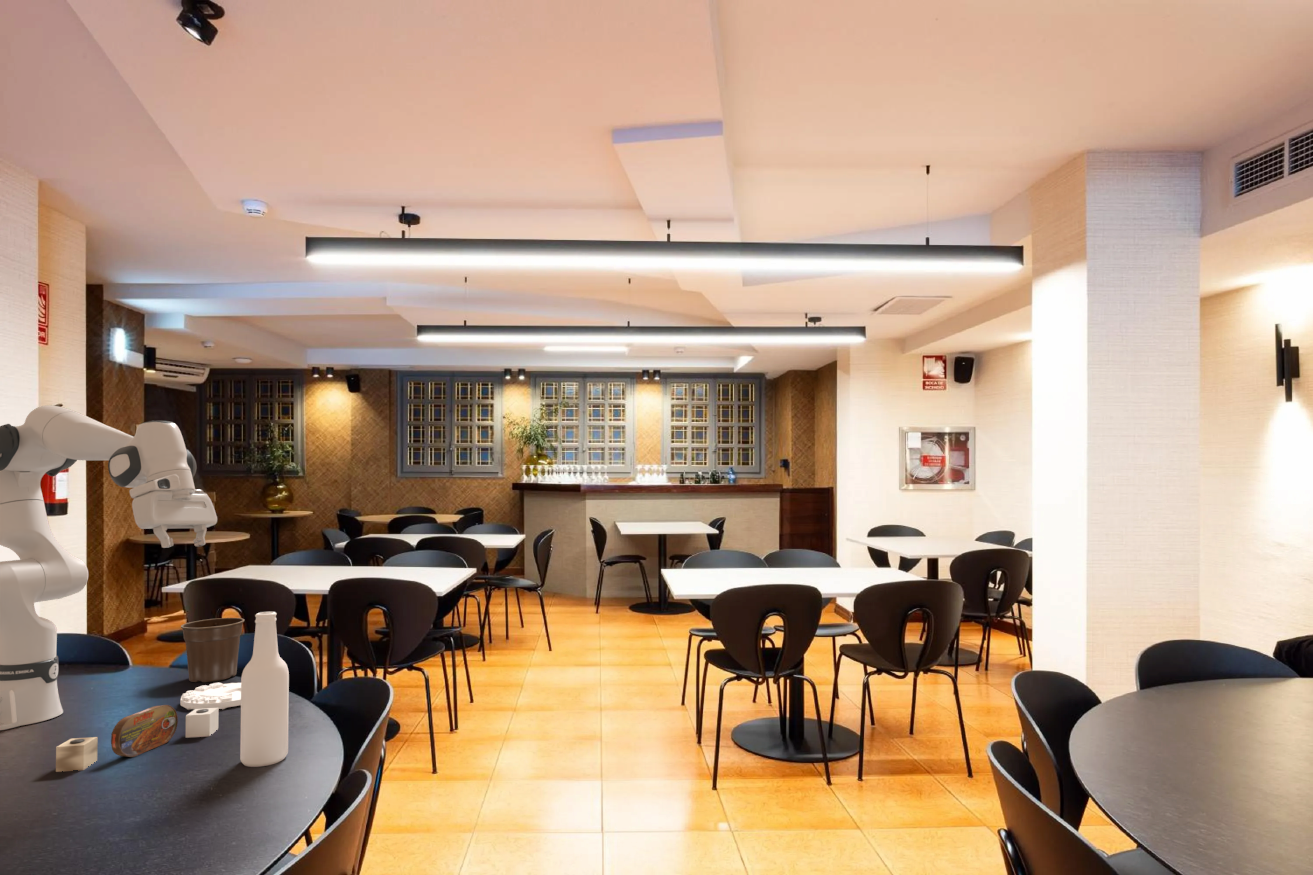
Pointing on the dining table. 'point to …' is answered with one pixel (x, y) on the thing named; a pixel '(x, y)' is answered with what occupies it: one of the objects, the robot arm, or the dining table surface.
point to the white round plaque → (212, 696)
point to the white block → (202, 722)
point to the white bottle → (264, 699)
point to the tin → (144, 731)
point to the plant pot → (212, 648)
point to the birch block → (76, 754)
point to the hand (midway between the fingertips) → (184, 546)
